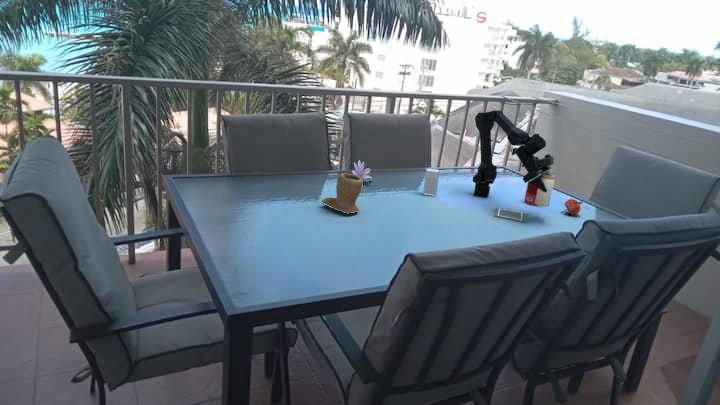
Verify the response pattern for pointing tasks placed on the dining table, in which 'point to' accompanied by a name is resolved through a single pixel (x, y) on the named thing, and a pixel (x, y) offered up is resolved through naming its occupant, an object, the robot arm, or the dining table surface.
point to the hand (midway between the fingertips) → (548, 190)
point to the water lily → (361, 171)
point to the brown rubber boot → (346, 193)
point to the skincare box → (431, 181)
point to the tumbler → (544, 197)
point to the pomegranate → (573, 206)
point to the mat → (510, 215)
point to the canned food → (531, 194)
